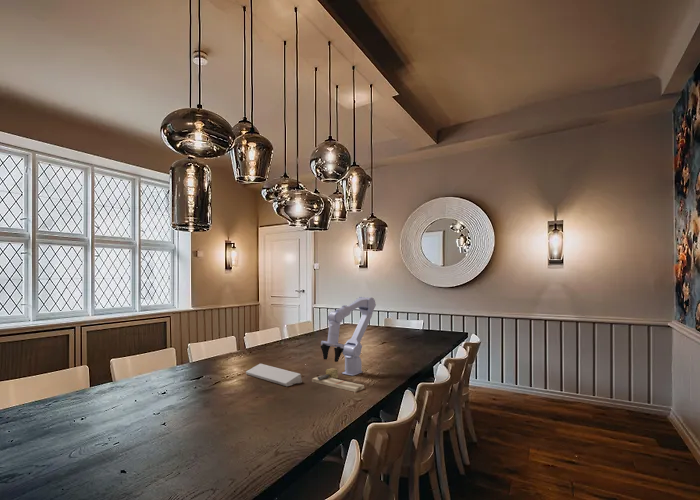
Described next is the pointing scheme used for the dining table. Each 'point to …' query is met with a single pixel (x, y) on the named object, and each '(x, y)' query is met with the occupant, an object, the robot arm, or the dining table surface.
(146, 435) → the dining table surface
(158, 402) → the dining table surface
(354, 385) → the maple board
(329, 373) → the marking gauge
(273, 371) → the decorative molding
